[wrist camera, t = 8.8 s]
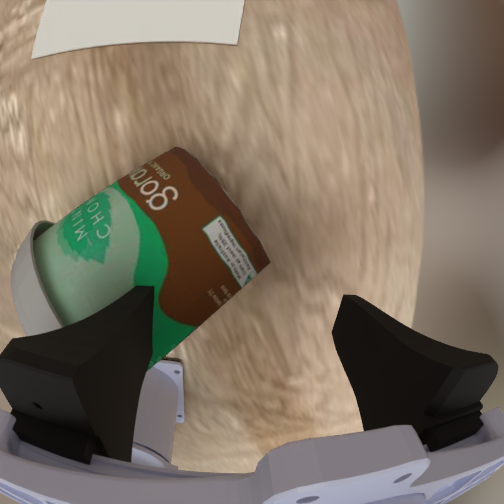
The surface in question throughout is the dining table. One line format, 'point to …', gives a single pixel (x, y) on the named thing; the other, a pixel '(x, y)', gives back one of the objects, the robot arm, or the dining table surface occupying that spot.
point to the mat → (135, 23)
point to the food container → (140, 252)
